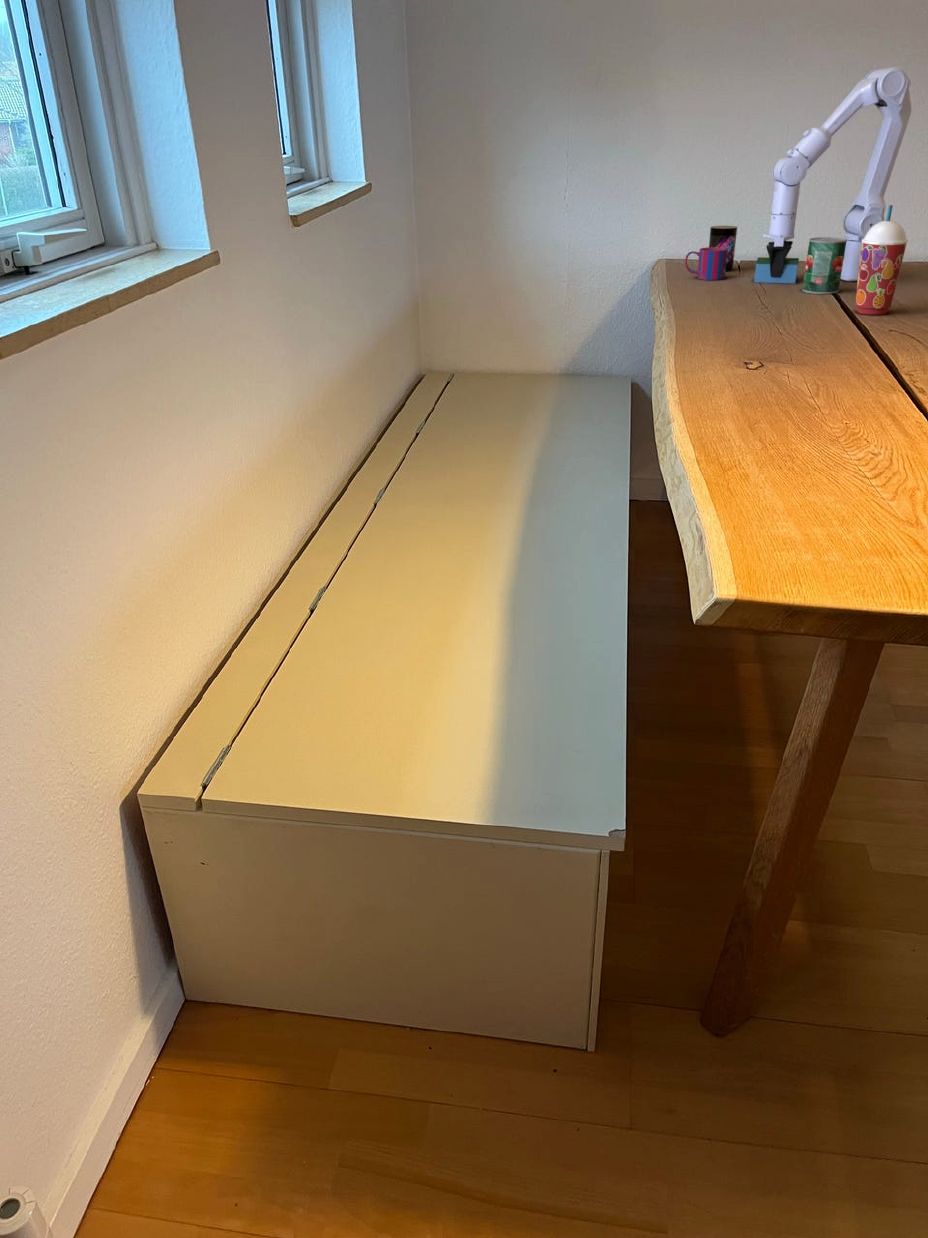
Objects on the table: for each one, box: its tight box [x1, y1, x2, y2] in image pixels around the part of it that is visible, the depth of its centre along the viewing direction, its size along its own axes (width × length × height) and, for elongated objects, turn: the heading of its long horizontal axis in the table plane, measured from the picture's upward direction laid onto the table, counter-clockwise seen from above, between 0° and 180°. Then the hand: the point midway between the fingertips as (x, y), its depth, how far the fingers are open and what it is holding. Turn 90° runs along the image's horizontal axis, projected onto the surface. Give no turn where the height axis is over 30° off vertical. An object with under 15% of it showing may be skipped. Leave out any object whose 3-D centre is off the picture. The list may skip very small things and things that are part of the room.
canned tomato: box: [801, 236, 847, 295], centre depth 209 cm, size 8×8×11 cm
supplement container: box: [708, 225, 738, 272], centre depth 240 cm, size 7×7×10 cm
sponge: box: [753, 256, 800, 284], centre depth 224 cm, size 10×5×5 cm, turn 71°
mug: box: [684, 246, 728, 281], centre depth 230 cm, size 7×10×7 cm
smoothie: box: [854, 204, 909, 316], centre depth 184 cm, size 8×8×20 cm
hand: (775, 274), depth 224 cm, fingers closed on sponge, 5 cm apart
